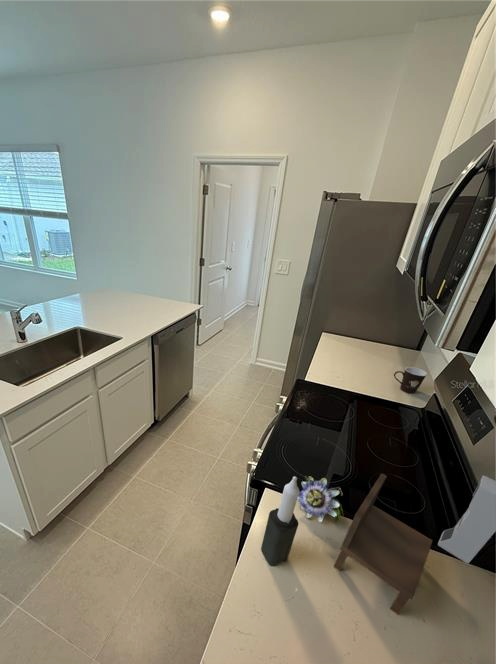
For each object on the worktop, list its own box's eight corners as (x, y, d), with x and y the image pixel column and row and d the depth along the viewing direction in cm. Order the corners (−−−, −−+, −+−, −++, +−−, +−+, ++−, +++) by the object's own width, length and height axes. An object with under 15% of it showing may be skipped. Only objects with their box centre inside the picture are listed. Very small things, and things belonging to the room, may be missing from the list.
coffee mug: (420, 390, 145) (428, 371, 140) (415, 397, 139) (424, 377, 134) (393, 381, 151) (400, 363, 146) (388, 387, 145) (395, 368, 140)
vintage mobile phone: (441, 533, 62) (509, 438, 50) (471, 551, 59) (551, 454, 47) (436, 545, 60) (506, 448, 47) (467, 564, 57) (550, 466, 44)
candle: (270, 567, 69) (291, 490, 56) (259, 547, 73) (276, 470, 60) (289, 560, 70) (314, 483, 58) (277, 540, 74) (298, 464, 62)
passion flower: (304, 529, 83) (284, 498, 80) (315, 497, 91) (297, 468, 87) (345, 535, 75) (325, 501, 72) (354, 499, 83) (335, 467, 79)
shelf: (358, 522, 80) (381, 473, 71) (418, 561, 72) (453, 510, 63) (332, 566, 70) (355, 514, 61) (398, 616, 61) (436, 565, 53)
